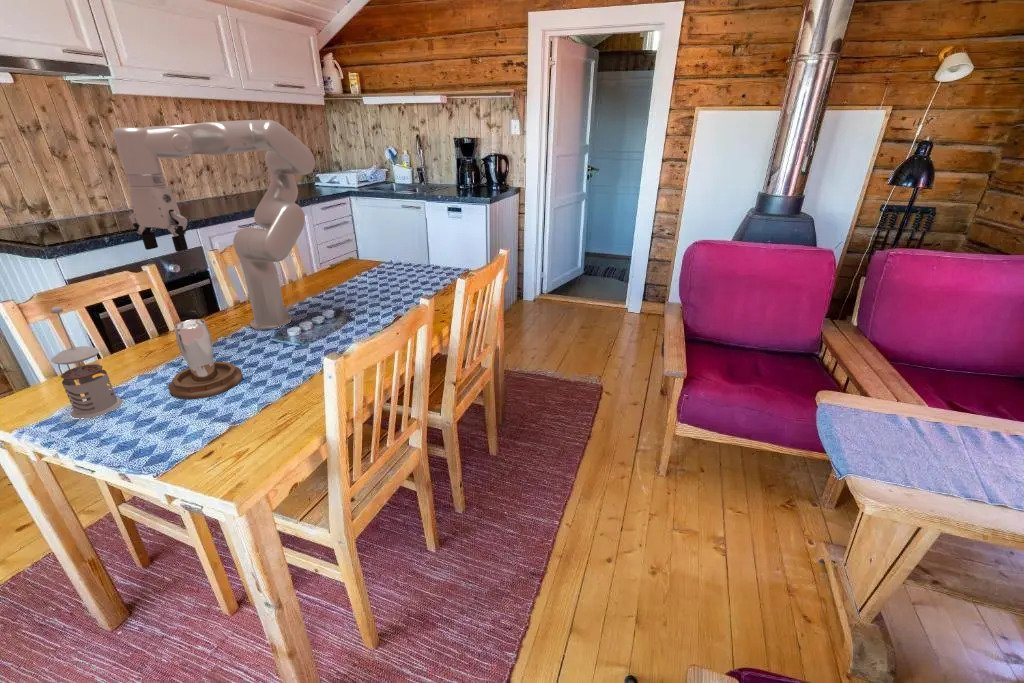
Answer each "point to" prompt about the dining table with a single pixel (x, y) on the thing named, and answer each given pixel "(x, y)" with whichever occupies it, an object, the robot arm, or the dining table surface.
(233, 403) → the dining table surface
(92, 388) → the french press
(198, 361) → the beer glass
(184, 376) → the round tray
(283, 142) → the robot arm
